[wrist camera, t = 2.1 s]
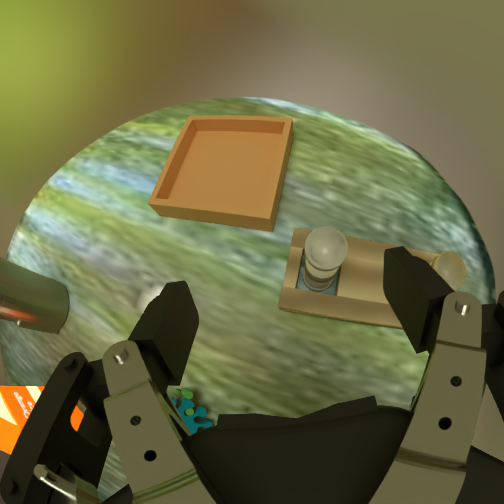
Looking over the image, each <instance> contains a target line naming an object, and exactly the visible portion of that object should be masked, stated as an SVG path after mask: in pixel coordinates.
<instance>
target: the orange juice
mask: <svg viewBox="0 0 504 504" xmlns="http://www.w3.org/2000/svg"><path fill="white" fill-rule="evenodd" d="M43 389H44V387H37V386H26V387H20V386H0V450H2V451H4V452H6V453H8V454H11V453H12V451H13V448H14V446H15V444H16V442H17V439H18V437H19V435H20V433H21V431H22V429H23V427H24V425H25V423H26V421H27V419H28V417H29V415H30V413H31V411H32V409H33V407H34V405H35V403H36V402H37V400H38V398H39V396H40V394H41V393H42V391H43ZM83 416H84V415H83V414H82V412H81V411H80V410H79V409H78V408H77V406H76V407H75V409H74V411H73V413H72V416H71V424H72V427H73V428H74V429H75V430H76V431H77V430H78V428H79V425H80V423H81V420H82V418H83Z"/></svg>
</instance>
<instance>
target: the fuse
mask: <svg viewBox="0 0 504 504" xmlns="http://www.w3.org/2000/svg"><path fill="white" fill-rule="evenodd" d="M430 265H431V266H432V267H433V269H435V271H436V272H437V273H438V275H440V276H441V277H442V278H443V279H444V280H445V281H446V282H447V283H448V284H449V285H450V287H451V288H452V289H453V290H455V289H458V288H459V287H460V286H461V285H462V284H463V283H464V280H465V277H466V269H465V265H464V262H463V260H462V258H461V257H460V256H459V255H458V254H457V253H455V252H453V251H444V252H442V253H441V254H440V255H438V256H437V257H436V258H435V259H434V260H433V261H432V262H431V263H430Z"/></svg>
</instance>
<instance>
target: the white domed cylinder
mask: <svg viewBox="0 0 504 504" xmlns="http://www.w3.org/2000/svg"><path fill="white" fill-rule="evenodd" d="M347 252H348V244H347V241H346V238H345V237H344V235H343V234H342V233H341V232H340V231H338V230H337V229H335V228H332V227H320V228H317V229H315V230H313V231H312V232H311V233H310V234H309V235H308V237H307V239H306V242H305V256H306V258H305V268H304V271H303V280H304V283H305V285H306V286H307V287H308V288H309V289H310V290H312V291H315V292H321V291H324V290H326V289H328V288H329V287H330V285H331V284H332V282H333V280H334V276H335V275H336V273H337V271H338V269H339V266H340V265H341V264H342V263H343V261H344V259H345V258H346V256H347Z"/></svg>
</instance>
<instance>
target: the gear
mask: <svg viewBox="0 0 504 504" xmlns="http://www.w3.org/2000/svg"><path fill="white" fill-rule="evenodd" d="M174 392H175V393H176V394H177V398H176V400H175V399H174V398H173V397H170V398H171V400H172V402H173V403H174V405H175V407H176V409H177V411H178V412H179V414H180V416H181V418H182V419H183V421H184V423H185V424H186V426H187V428H188V429H189V431H190V432H191V433H192V434H194V433H196V432H197V429H198V427H201V426H202V427H204V428H208V427H211V426H212V422H211V421H210V420H208V419H206V420H203V421H194V420H193V419H194V417H196V416H200V417H205V416H206V415H207V412H206V410H205V408H204V407H203V406H198V407H197V408H196V409H195V410H193V409H192V407H193V406H194V403H193V402H192V401H191V398H193V393H192V392H191V391H190V390H189V389H188V388H184V389H182V391H180V390H179V389H175V390H174ZM184 412H185V413H184Z"/></svg>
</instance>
